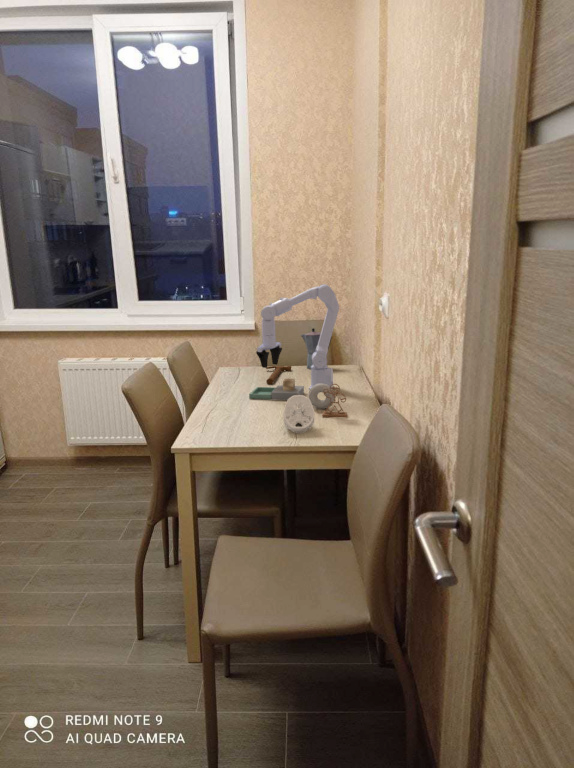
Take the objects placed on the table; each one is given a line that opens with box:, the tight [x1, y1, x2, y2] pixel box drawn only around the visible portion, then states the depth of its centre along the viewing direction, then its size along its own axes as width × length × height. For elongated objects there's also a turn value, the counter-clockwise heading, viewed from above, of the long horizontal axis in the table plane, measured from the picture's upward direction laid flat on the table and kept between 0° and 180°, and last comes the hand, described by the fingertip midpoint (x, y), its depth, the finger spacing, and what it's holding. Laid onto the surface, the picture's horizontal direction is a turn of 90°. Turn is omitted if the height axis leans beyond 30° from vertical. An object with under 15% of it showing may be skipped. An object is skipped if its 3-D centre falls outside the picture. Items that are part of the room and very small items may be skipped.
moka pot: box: [300, 328, 332, 370], centre depth 281 cm, size 10×15×20 cm, turn 82°
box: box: [248, 386, 277, 401], centre depth 233 cm, size 9×12×2 cm
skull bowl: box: [282, 394, 316, 434], centre depth 190 cm, size 10×14×12 cm
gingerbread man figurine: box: [321, 383, 348, 418], centre depth 202 cm, size 9×4×12 cm, turn 84°
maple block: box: [282, 378, 296, 391], centre depth 229 cm, size 4×4×4 cm
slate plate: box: [271, 384, 305, 401], centre depth 230 cm, size 11×12×3 cm
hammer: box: [265, 365, 292, 386], centre depth 265 cm, size 12×3×30 cm
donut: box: [308, 383, 334, 410], centre depth 211 cm, size 10×4×10 cm, turn 78°
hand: (269, 365), depth 241 cm, fingers open, 7 cm apart
